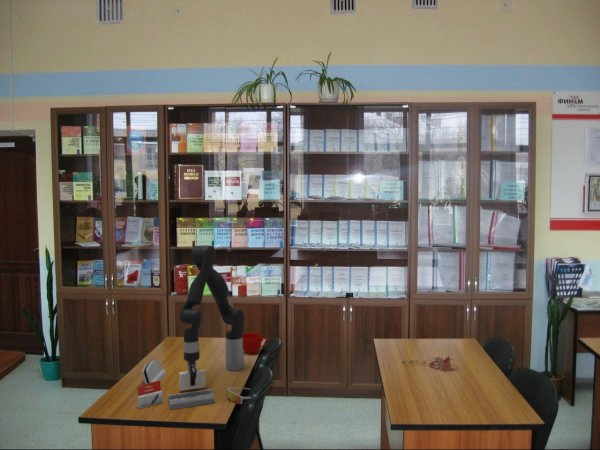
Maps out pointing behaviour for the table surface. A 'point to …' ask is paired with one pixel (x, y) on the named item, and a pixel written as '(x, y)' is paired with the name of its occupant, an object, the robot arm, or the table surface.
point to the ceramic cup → (252, 342)
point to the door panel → (185, 380)
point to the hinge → (153, 372)
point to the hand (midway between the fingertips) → (192, 383)
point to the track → (190, 399)
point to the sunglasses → (234, 396)
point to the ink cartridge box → (149, 394)
